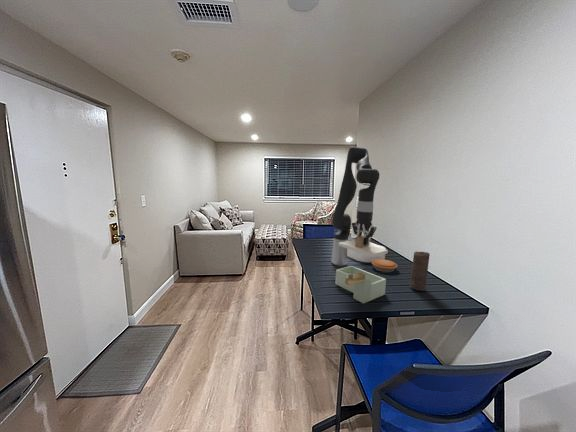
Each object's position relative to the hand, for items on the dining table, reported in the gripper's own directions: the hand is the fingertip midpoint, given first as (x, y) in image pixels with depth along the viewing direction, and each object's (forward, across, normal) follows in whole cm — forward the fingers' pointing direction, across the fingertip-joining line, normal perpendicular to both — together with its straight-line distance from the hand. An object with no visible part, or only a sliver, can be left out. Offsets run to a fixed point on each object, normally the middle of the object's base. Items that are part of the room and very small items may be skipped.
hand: (362, 244), depth 127 cm
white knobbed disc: (+25, +34, -48) cm, 64 cm away
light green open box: (+24, 0, +2) cm, 24 cm away
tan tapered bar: (+14, -8, +14) cm, 21 cm away
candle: (+24, -17, -26) cm, 39 cm away
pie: (+24, +10, -37) cm, 45 cm away
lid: (+3, 0, 0) cm, 3 cm away
